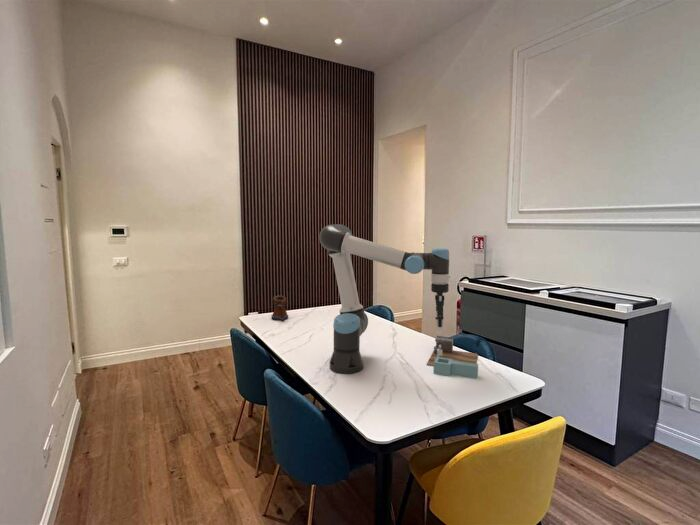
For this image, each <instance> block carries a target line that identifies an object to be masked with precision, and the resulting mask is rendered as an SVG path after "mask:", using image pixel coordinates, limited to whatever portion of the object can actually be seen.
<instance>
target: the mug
mask: <svg viewBox="0 0 700 525" xmlns="http://www.w3.org/2000/svg"><path fill="white" fill-rule="evenodd" d="M272 300H273V306H274V307H273V308H274V310H273V313H272V315H271V317H270V318H271V320H273V321H281V322H284V321H286V320H288V318H289V314H288V312H287V309H286V304H287V297H286V296H284V295H279V294H278V295H275V296H273V298H272Z"/></svg>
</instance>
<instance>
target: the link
mask: <svg viewBox="0 0 700 525" xmlns="http://www.w3.org/2000/svg"><path fill="white" fill-rule="evenodd" d="M433 374H436V375H440V376H441V375H442V376H447V377H451V375H453V376H459V377H466V378H471V379H478V376H479V375H478V374H479V363H476V364H473V363H466V362H458V361H452V359H447V358H439V357H436V359H435V361H434V366H433Z"/></svg>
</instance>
